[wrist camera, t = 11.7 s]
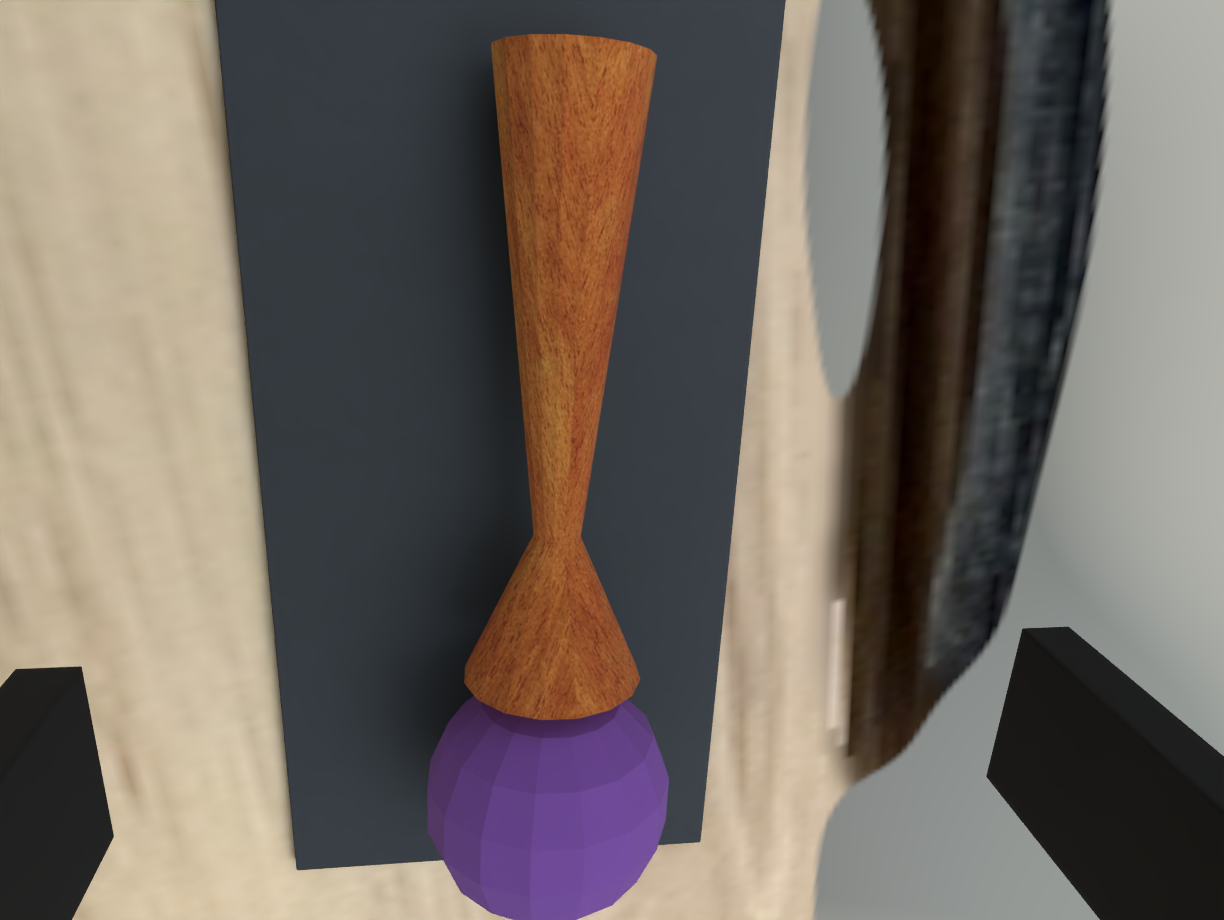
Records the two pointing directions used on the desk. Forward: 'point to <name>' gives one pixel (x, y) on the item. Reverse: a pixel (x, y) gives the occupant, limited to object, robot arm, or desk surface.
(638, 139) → the kendama
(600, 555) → the mat
